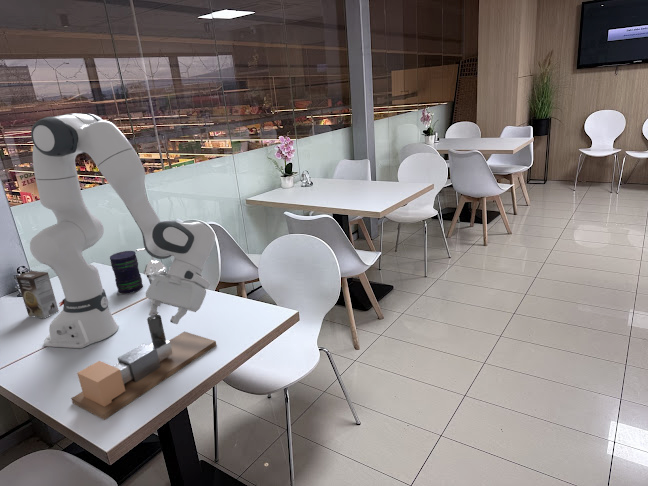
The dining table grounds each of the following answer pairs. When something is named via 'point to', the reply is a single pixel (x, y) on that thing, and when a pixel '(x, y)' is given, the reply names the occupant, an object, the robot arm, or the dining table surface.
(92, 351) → the dining table surface
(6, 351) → the dining table surface
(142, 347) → the metal sleeve
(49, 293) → the coffee box
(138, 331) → the dining table surface
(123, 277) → the storage jar
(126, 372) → the grey piece
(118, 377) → the socket block
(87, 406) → the walnut board
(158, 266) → the cup with straw
